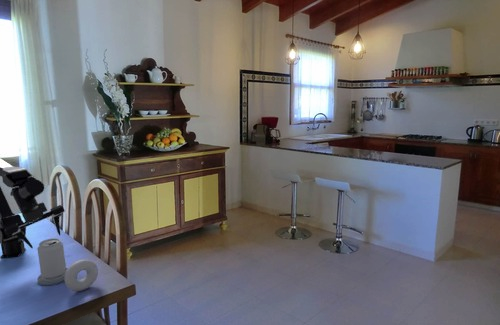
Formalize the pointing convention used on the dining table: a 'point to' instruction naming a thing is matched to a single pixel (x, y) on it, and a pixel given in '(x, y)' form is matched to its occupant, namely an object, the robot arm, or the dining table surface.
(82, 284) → the donut
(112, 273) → the dining table surface
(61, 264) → the can
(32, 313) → the dining table surface
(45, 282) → the dish
